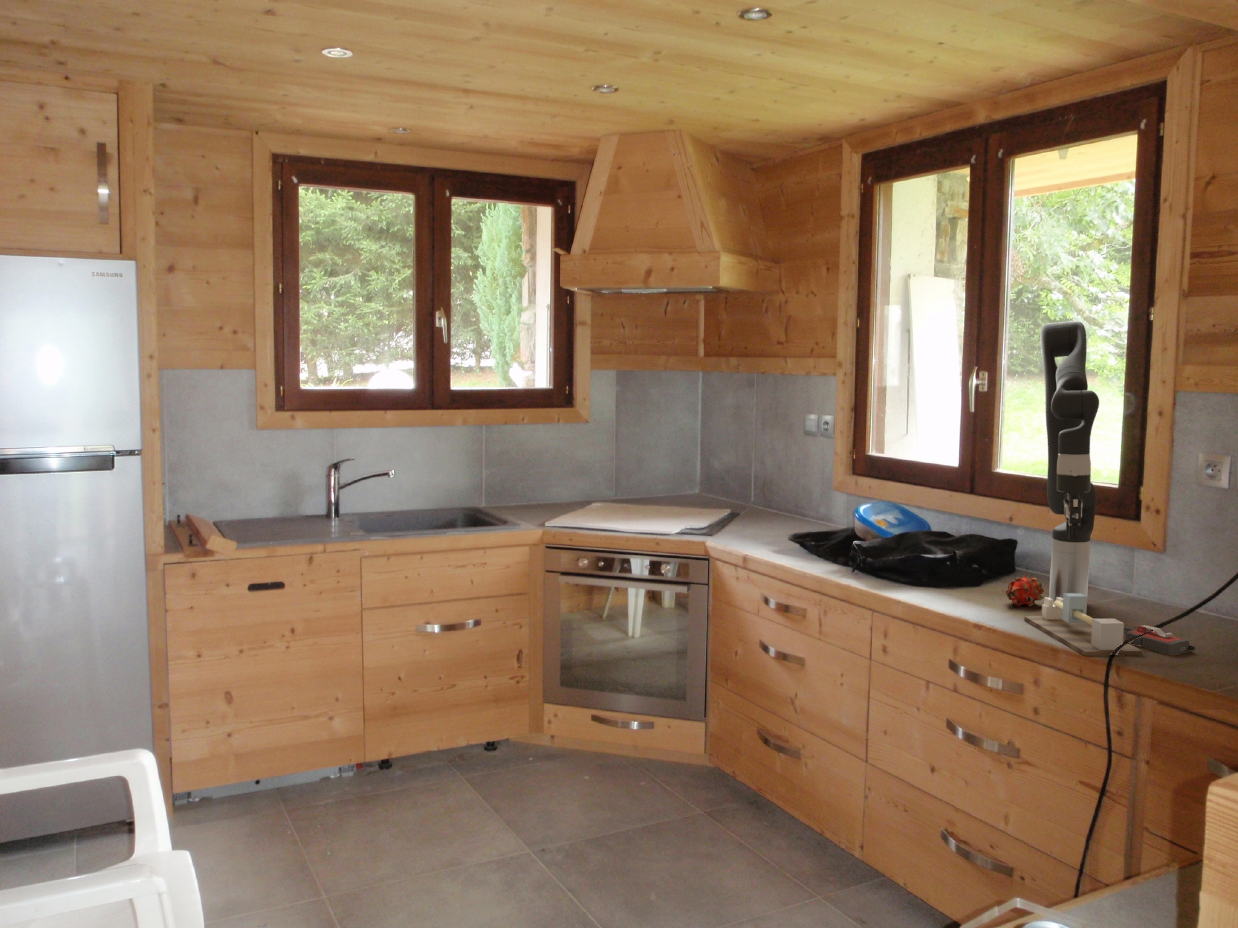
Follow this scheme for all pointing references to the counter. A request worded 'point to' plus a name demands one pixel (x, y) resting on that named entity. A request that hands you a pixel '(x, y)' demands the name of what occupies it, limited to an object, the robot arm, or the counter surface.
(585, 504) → the counter surface
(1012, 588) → the dragon fruit
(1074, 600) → the sleeve
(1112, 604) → the counter surface
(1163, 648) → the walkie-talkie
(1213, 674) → the counter surface
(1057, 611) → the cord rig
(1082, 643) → the board
